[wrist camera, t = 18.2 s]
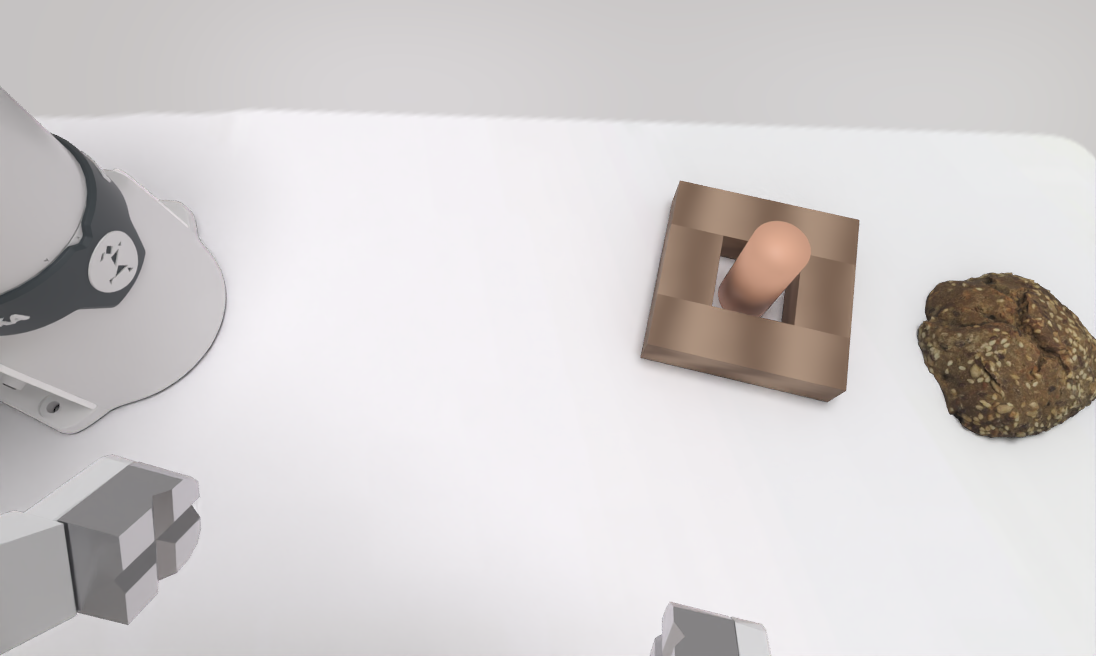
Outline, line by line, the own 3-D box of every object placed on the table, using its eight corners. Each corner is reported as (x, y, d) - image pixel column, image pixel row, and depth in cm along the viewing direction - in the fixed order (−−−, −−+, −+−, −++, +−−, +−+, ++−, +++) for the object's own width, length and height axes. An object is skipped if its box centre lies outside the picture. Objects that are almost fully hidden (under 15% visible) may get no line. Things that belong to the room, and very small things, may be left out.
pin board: (640, 357, 49) (647, 343, 46) (672, 201, 54) (680, 180, 51) (827, 402, 48) (846, 390, 45) (841, 239, 53) (859, 220, 50)
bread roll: (1113, 405, 49) (1174, 386, 44) (971, 458, 47) (1020, 445, 42) (1015, 259, 53) (1062, 228, 48) (883, 303, 51) (918, 276, 47)
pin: (714, 313, 50) (747, 266, 43) (722, 268, 52) (754, 215, 44) (766, 325, 50) (807, 280, 43) (772, 279, 52) (813, 228, 44)
